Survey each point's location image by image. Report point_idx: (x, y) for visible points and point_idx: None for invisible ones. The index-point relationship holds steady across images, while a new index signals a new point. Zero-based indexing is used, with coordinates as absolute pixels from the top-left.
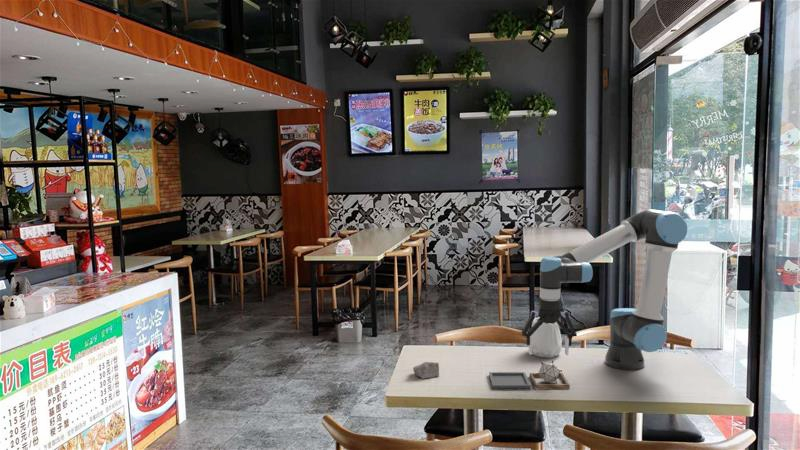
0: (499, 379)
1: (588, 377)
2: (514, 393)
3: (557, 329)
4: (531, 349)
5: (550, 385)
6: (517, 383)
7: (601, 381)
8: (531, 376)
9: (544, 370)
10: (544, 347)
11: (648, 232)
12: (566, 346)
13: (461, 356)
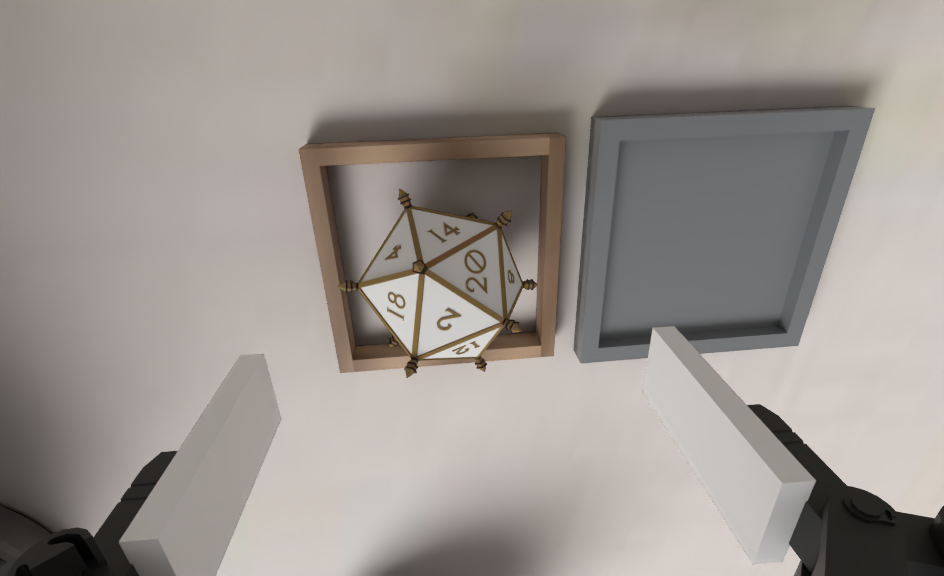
0: (757, 263)
1: (169, 358)
2: (731, 27)
3: None
4: (688, 360)
5: (450, 141)
6: (666, 199)
7: (72, 298)
8: (556, 296)
9: (493, 250)
10: None
11: None
12: (225, 430)
13: None
